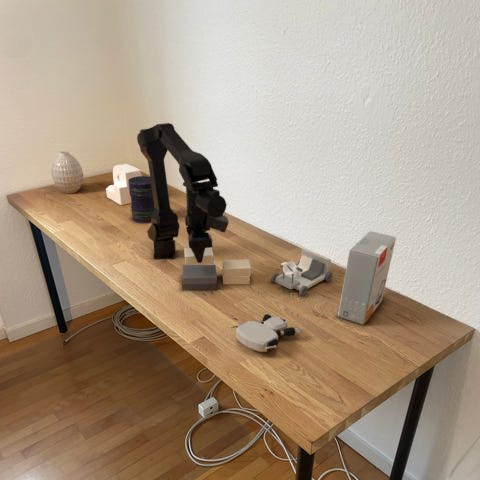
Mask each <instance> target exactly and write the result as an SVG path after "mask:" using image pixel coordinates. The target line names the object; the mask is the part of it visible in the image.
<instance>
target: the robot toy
mask: <svg viewBox="0 0 480 480" xmlns="http://www.w3.org/2000/svg"><path fill="white" fill-rule="evenodd" d="M228 328H229V329H234V328H235V337H236V339H237V340H238V342H240V343H241V344H242V345H243V346H245V347H246V348H248V349H250V350H253V351H256V352H260V353H266V352H269V351H271V350H273V349H277V347H278V343H279V337H282V336H283V335H284V336H286V337H292V336H293V337H295V335H296V334H300V333H301V330H300V328H298V327H295V328H294V326H291V327H288V320H286V319H284V318H283V317H280V316H273V314H271V313H266V314H264V316H263V317H262V321H261V322H258V321H255V320H248V321H245V322H242V323H241V324H238V325H234V326H233V325H232V326H231V325H230V326H229V327H228Z"/></svg>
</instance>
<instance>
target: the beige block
mask: <svg viewBox="0 0 480 480" xmlns="http://www.w3.org/2000/svg"><path fill="white" fill-rule="evenodd" d="M221 268H222V285H250V282H251V276H252V266H251V262H250V259H249V258H247V259H246V258H244V259H241V258H240V259H222V267H221Z"/></svg>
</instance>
